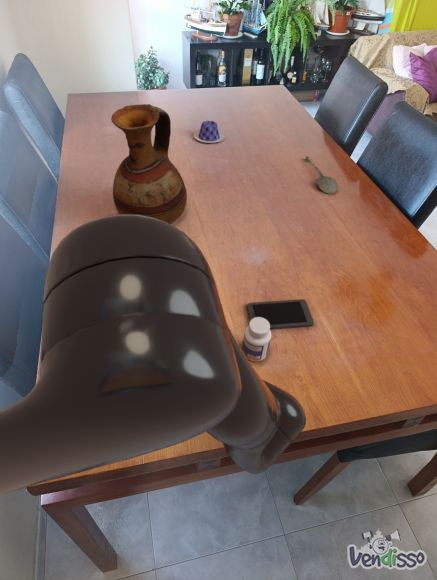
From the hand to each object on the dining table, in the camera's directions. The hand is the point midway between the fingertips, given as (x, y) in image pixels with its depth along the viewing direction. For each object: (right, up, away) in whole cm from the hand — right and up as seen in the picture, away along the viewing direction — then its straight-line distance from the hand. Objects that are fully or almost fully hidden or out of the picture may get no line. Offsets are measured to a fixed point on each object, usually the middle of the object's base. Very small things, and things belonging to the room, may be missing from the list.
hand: (120, 280), depth 62 cm
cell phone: (+30, -7, +22) cm, 38 cm away
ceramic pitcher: (-3, +20, +46) cm, 50 cm away
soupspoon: (+50, +37, +64) cm, 89 cm away
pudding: (+13, +56, +80) cm, 99 cm away
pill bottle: (+24, -14, +15) cm, 32 cm away
